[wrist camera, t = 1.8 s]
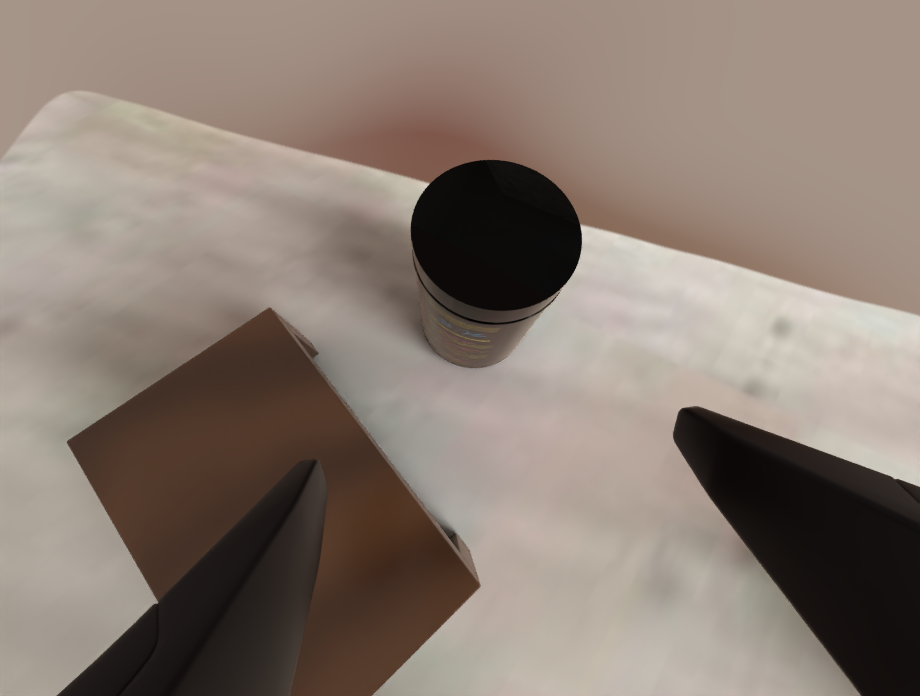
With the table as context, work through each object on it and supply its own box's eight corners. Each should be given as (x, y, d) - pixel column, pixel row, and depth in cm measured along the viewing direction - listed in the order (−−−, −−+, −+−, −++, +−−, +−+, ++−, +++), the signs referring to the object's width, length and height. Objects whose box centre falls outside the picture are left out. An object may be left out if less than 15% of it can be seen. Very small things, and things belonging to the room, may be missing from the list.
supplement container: (522, 374, 23) (586, 317, 13) (417, 368, 23) (401, 304, 13) (522, 280, 25) (579, 166, 15) (425, 272, 25) (417, 152, 15)
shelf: (470, 550, 20) (481, 586, 15) (319, 695, 18) (269, 799, 13) (308, 339, 23) (269, 306, 18) (160, 443, 21) (65, 441, 15)
